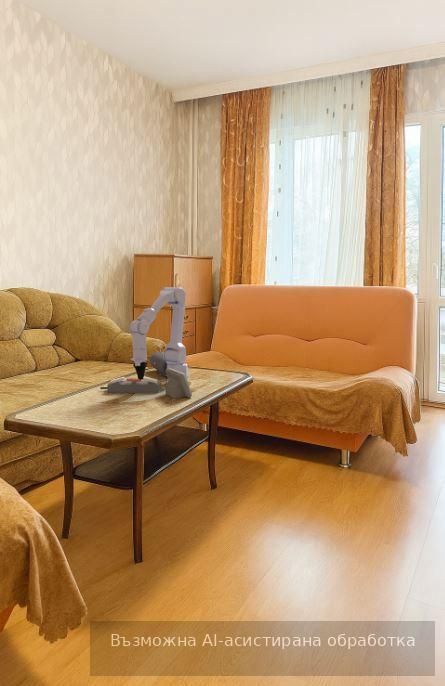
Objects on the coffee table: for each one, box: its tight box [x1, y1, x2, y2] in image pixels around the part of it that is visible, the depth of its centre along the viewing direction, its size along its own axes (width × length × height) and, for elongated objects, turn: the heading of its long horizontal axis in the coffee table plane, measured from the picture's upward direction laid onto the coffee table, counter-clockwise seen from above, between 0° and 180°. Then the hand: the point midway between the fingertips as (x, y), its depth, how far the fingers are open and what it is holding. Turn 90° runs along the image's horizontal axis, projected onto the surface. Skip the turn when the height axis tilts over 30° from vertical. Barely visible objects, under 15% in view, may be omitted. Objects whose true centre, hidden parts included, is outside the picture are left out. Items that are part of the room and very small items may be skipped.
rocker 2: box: [125, 377, 142, 382], centre depth 224 cm, size 6×3×1 cm, turn 89°
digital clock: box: [165, 368, 193, 399], centre depth 217 cm, size 16×9×11 cm, turn 18°
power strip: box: [99, 379, 162, 394], centre depth 226 cm, size 26×8×4 cm, turn 89°
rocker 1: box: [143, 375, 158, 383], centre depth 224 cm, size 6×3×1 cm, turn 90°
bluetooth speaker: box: [149, 351, 167, 377], centre depth 261 cm, size 23×9×10 cm, turn 23°
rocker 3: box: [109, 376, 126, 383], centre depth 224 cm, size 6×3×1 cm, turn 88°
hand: (141, 379), depth 224 cm, fingers closed, pressing on rocker 1, rocker 2
